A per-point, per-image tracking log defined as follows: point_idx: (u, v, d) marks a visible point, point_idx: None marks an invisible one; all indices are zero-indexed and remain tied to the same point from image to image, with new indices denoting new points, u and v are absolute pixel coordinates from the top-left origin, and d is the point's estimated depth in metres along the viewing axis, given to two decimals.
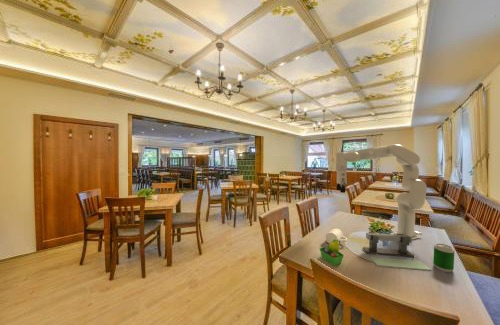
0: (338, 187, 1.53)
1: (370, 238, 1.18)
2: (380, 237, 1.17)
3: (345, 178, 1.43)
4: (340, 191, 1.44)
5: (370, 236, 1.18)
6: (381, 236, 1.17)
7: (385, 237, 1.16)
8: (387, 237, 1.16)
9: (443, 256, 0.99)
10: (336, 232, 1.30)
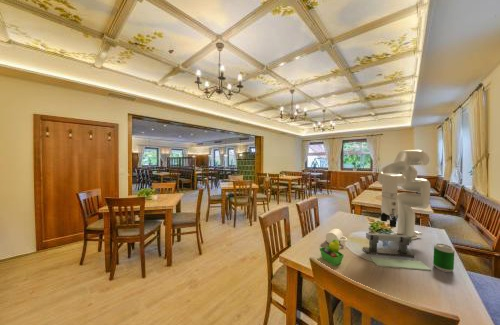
0: (383, 218, 1.21)
1: (370, 238, 1.18)
2: (380, 237, 1.17)
3: (396, 209, 1.12)
4: None
5: (370, 236, 1.18)
6: (381, 236, 1.17)
7: (385, 237, 1.16)
8: (387, 237, 1.16)
9: (443, 256, 0.99)
10: (336, 232, 1.30)
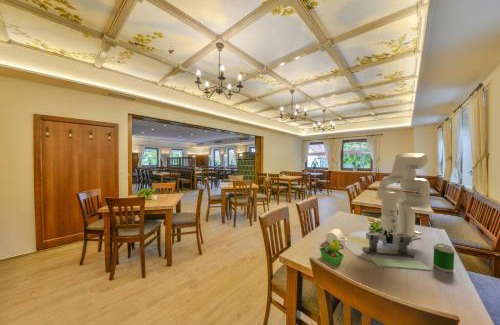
0: None
1: (370, 238, 1.18)
2: (380, 237, 1.17)
3: (396, 226, 1.12)
4: (386, 242, 1.16)
5: (370, 236, 1.18)
6: (381, 236, 1.17)
7: (385, 237, 1.16)
8: None
9: (443, 256, 0.99)
10: (336, 232, 1.30)
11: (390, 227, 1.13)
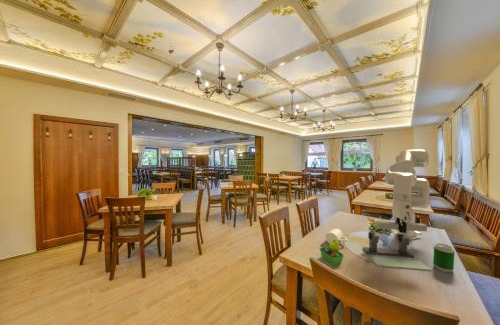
0: None
1: (381, 227, 1.05)
2: (392, 225, 1.05)
3: (410, 212, 1.00)
4: (399, 231, 1.04)
5: (381, 224, 1.05)
6: (393, 224, 1.04)
7: (398, 225, 1.04)
8: None
9: (443, 256, 0.99)
10: (336, 232, 1.30)
11: (404, 214, 1.00)
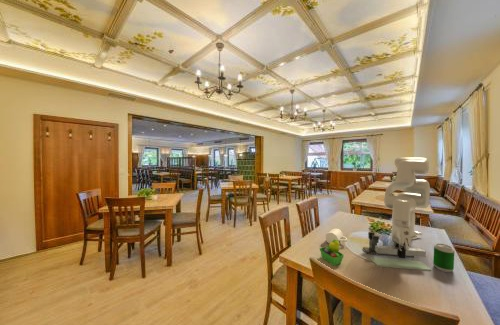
0: None
1: (380, 252, 1.06)
2: (391, 251, 1.05)
3: (409, 238, 1.00)
4: (398, 256, 1.04)
5: (380, 249, 1.06)
6: (392, 249, 1.05)
7: (397, 251, 1.05)
8: None
9: (443, 256, 0.99)
10: (336, 232, 1.30)
11: (403, 240, 1.01)
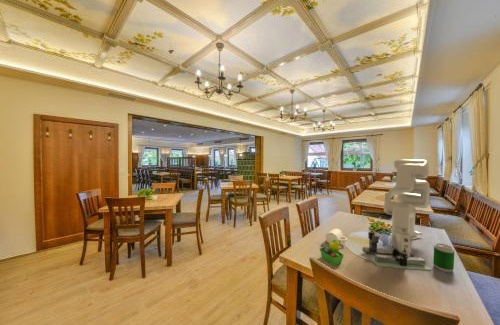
0: (395, 255, 1.09)
1: (379, 261, 1.06)
2: (391, 260, 1.06)
3: (409, 246, 1.01)
4: None
5: (379, 259, 1.06)
6: (392, 259, 1.06)
7: (396, 260, 1.05)
8: (398, 260, 1.05)
9: (443, 256, 0.99)
10: (336, 232, 1.30)
11: (402, 247, 1.01)
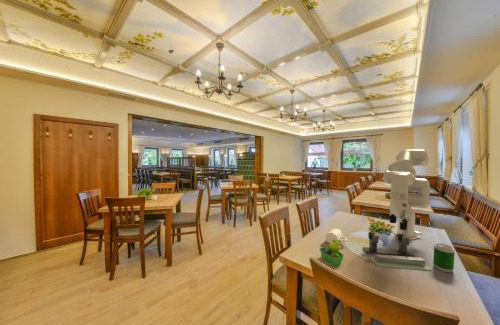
0: (392, 219, 1.14)
1: (379, 261, 1.06)
2: (391, 260, 1.06)
3: (407, 210, 1.04)
4: (400, 228, 1.05)
5: (379, 259, 1.06)
6: (392, 259, 1.06)
7: (396, 260, 1.05)
8: (398, 260, 1.05)
9: (443, 256, 0.99)
10: (336, 232, 1.30)
11: (401, 212, 1.04)
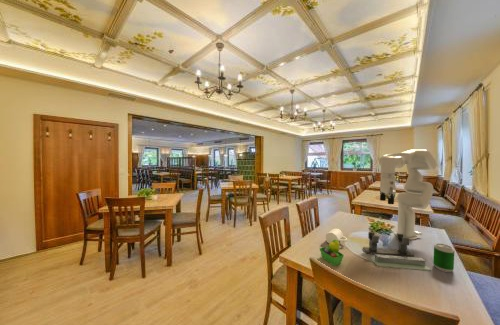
0: (382, 197, 1.31)
1: (379, 261, 1.06)
2: (391, 260, 1.06)
3: (394, 187, 1.21)
4: (388, 202, 1.22)
5: (379, 259, 1.06)
6: (392, 259, 1.06)
7: (396, 260, 1.05)
8: (398, 260, 1.05)
9: (443, 256, 0.99)
10: (336, 232, 1.30)
11: (389, 189, 1.22)
